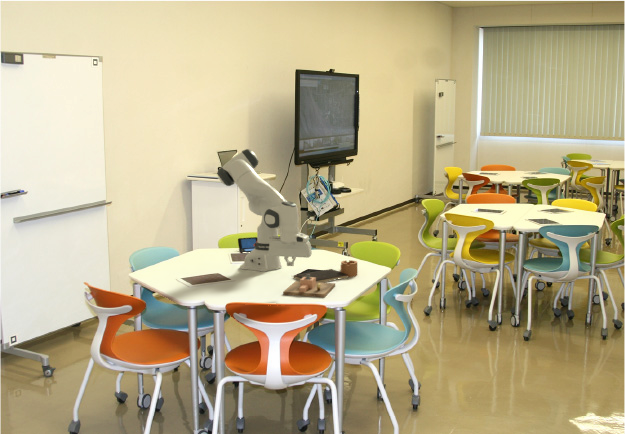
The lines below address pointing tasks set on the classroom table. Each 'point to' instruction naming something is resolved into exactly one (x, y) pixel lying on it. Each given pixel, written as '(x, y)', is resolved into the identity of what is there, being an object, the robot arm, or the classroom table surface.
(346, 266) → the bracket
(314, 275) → the hardcover book
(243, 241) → the small monitor
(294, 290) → the board
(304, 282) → the orange square-holed tool
